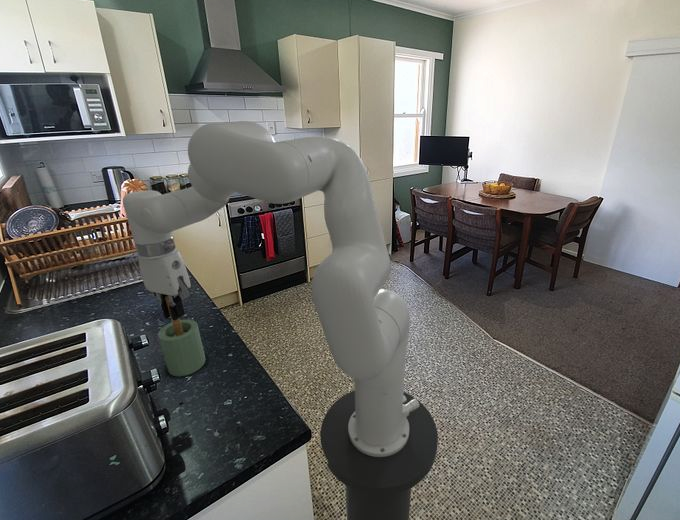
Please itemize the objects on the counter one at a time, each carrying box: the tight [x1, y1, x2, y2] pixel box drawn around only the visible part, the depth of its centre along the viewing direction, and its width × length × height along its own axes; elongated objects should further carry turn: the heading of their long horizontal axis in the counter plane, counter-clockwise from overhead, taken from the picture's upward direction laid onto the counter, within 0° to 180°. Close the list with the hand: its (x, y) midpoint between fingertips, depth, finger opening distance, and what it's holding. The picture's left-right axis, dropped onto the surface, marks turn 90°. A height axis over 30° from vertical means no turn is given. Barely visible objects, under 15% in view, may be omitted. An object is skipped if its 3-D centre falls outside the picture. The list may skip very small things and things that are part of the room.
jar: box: [157, 318, 206, 377], centre depth 88 cm, size 9×9×11 cm
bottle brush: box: [165, 296, 186, 337], centre depth 86 cm, size 3×3×16 cm
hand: (174, 316), depth 85 cm, fingers closed on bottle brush
